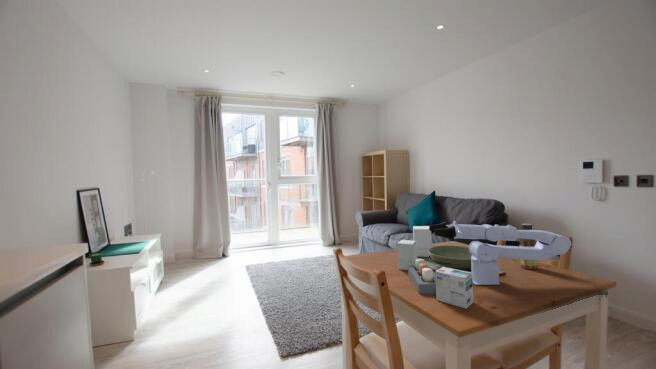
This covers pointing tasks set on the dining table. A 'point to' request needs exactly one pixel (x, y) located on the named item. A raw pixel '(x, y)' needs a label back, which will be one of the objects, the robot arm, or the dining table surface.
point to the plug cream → (427, 275)
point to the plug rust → (421, 266)
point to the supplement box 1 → (406, 254)
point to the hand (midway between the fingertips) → (431, 230)
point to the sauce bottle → (528, 243)
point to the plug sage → (419, 263)
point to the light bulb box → (454, 287)
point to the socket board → (419, 284)
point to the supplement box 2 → (422, 240)
